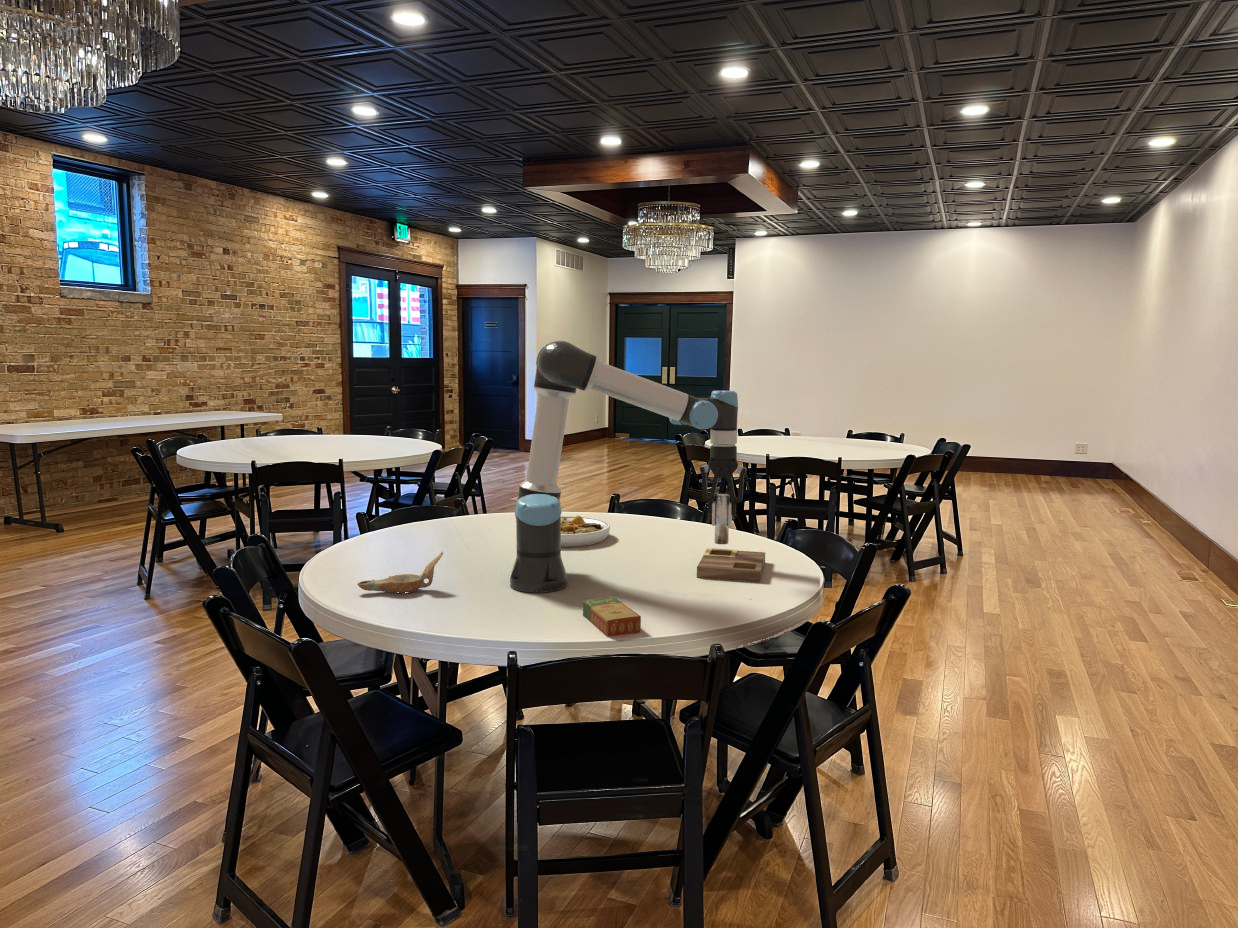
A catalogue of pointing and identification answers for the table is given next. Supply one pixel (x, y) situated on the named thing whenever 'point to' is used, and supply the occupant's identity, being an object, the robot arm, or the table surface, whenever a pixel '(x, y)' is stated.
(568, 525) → the bowl
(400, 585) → the oil lamp
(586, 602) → the carton
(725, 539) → the steel pin
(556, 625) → the table surface
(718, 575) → the socket board
